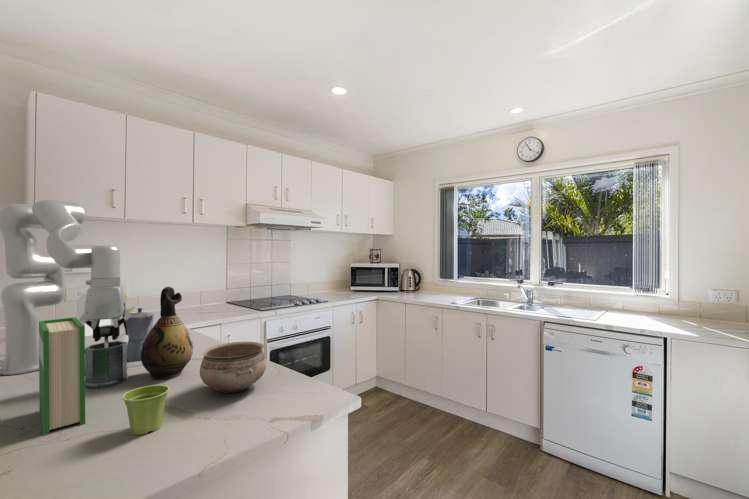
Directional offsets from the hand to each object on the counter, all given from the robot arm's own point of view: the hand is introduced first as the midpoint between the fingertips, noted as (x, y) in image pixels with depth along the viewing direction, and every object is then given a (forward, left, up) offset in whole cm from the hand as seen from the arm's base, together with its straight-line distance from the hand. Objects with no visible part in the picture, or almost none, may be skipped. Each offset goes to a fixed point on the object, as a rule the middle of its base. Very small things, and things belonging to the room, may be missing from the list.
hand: (106, 339), depth 114 cm
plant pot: (+20, -40, -14) cm, 47 cm away
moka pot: (+2, +27, -14) cm, 31 cm away
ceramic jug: (+17, +1, -14) cm, 22 cm away
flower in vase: (-8, +52, -14) cm, 54 cm away
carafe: (-1, 0, -14) cm, 14 cm away
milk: (-33, +90, -14) cm, 97 cm away
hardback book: (-2, -25, -14) cm, 29 cm away
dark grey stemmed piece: (0, 0, -10) cm, 10 cm away
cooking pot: (+39, -22, -14) cm, 47 cm away
